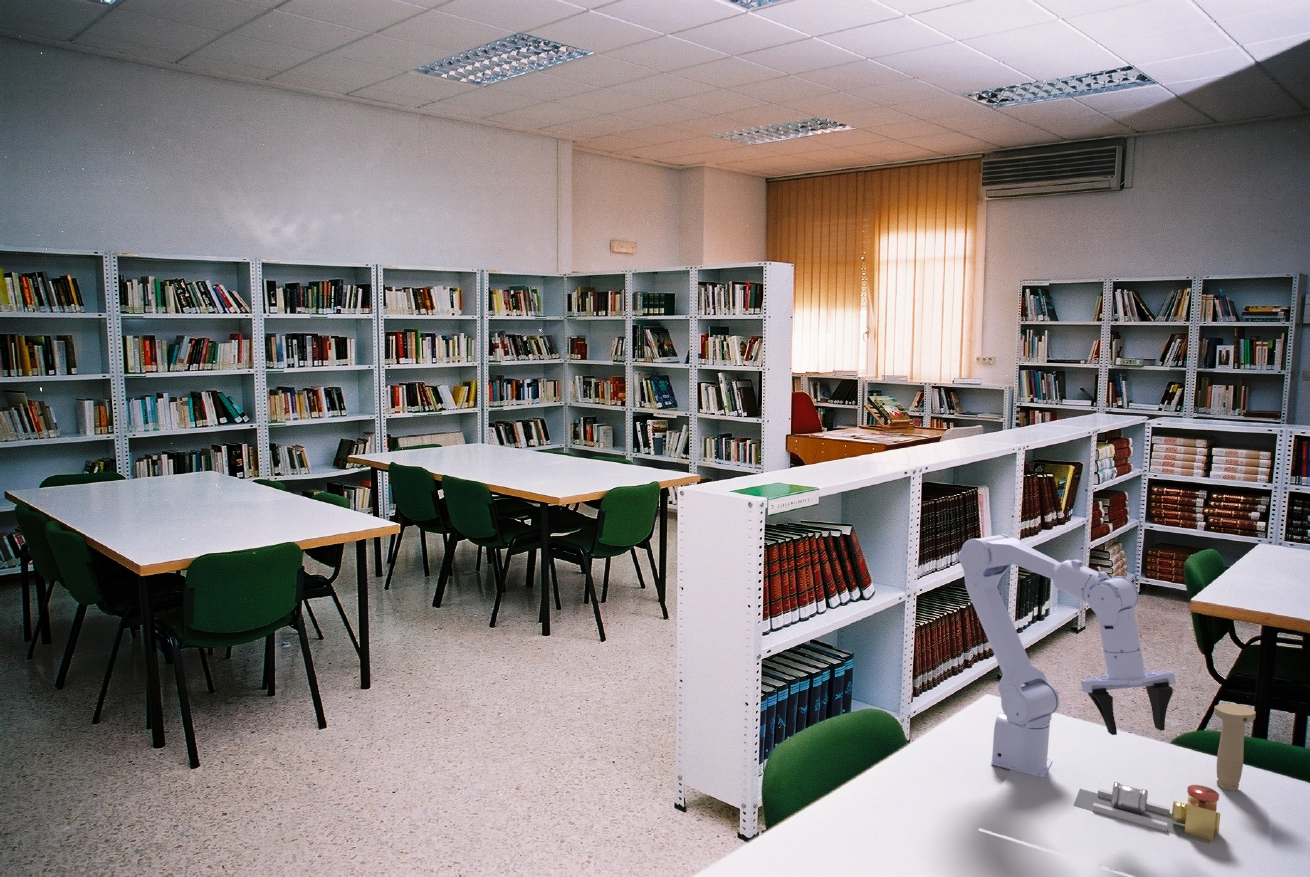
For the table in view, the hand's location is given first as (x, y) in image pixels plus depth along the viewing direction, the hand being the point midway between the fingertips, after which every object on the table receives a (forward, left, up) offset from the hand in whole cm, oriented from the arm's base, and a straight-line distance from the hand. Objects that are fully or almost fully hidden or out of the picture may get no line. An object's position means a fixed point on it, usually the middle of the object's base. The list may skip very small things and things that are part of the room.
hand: (1136, 731), depth 150 cm
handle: (+14, +20, -15) cm, 29 cm away
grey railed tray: (+2, 0, -15) cm, 15 cm away
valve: (+10, 0, -15) cm, 18 cm away
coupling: (0, 0, -14) cm, 14 cm away
